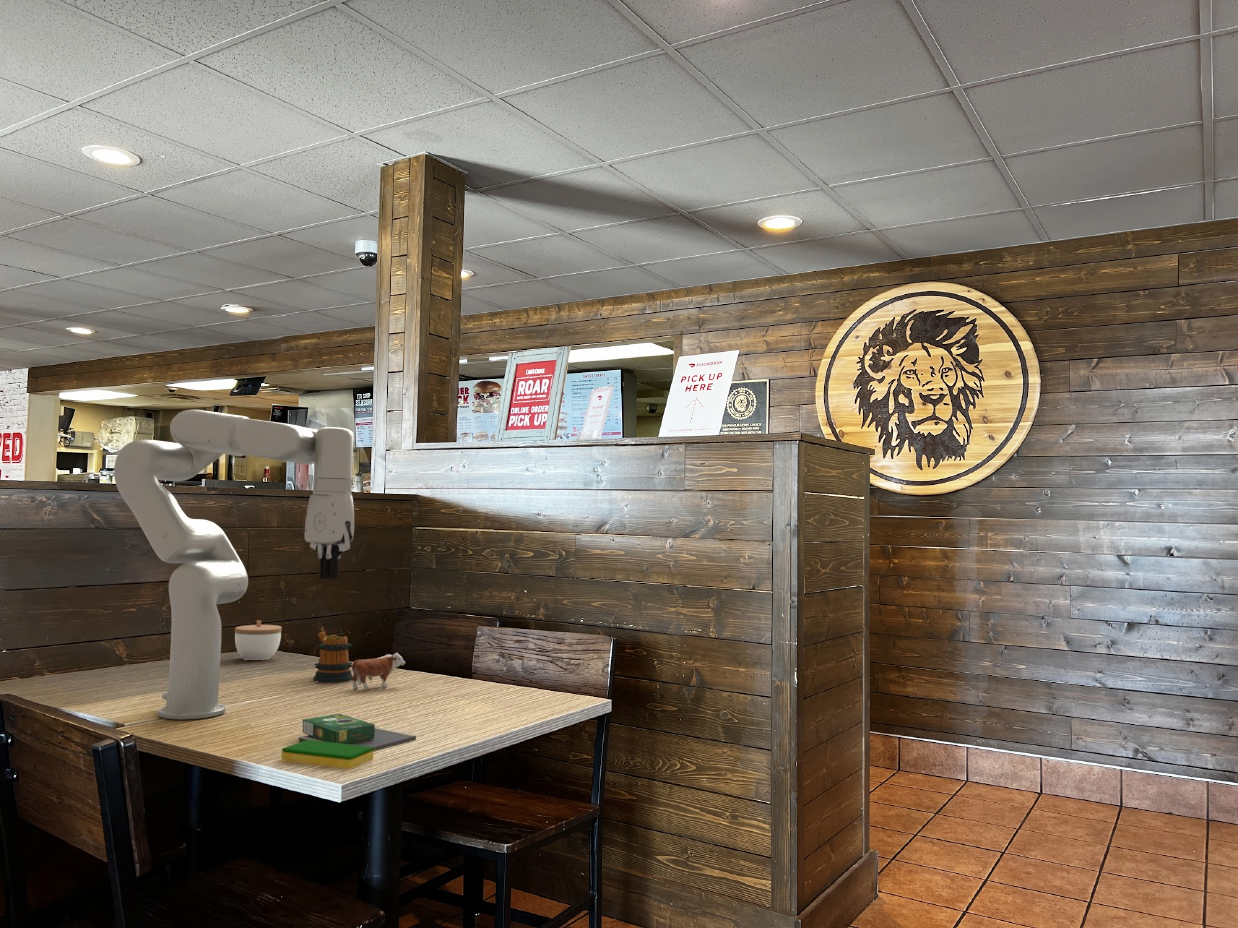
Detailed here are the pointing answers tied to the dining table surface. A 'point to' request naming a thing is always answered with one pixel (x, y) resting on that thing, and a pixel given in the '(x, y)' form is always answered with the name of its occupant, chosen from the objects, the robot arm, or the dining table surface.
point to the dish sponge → (327, 754)
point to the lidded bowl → (257, 641)
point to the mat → (376, 739)
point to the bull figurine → (375, 669)
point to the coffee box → (339, 729)
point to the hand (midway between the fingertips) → (328, 578)
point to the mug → (333, 660)
